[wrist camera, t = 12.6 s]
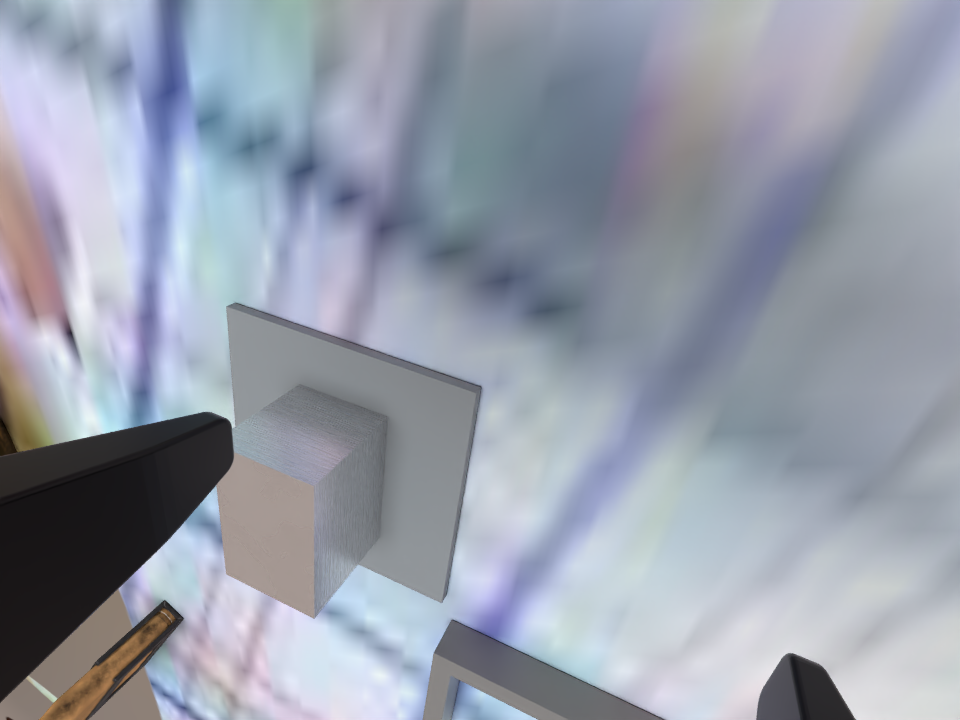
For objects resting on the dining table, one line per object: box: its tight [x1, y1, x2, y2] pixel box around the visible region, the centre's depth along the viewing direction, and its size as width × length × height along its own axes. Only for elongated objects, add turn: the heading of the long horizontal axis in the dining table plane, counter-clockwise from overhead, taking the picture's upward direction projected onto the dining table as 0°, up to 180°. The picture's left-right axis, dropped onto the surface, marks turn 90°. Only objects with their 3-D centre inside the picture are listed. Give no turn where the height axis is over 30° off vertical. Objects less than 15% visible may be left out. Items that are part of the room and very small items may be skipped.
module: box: [217, 384, 388, 619], centre depth 24 cm, size 4×7×5 cm, turn 171°
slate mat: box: [226, 303, 481, 603], centre depth 26 cm, size 12×12×1 cm
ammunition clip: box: [39, 600, 184, 720], centre depth 38 cm, size 11×2×12 cm, turn 141°
